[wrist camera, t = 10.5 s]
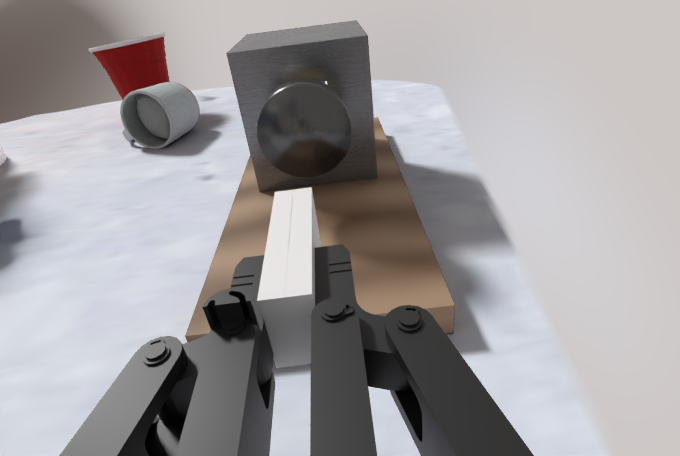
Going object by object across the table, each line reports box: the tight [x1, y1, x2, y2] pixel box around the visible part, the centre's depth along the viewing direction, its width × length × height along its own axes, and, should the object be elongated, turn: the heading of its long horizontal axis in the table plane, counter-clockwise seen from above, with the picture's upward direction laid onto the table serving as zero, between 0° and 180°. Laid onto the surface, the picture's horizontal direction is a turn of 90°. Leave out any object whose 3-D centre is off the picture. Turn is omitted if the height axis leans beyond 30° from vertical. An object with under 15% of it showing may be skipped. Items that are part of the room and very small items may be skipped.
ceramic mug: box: [120, 82, 200, 149], centre depth 56 cm, size 10×8×7 cm
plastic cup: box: [88, 33, 169, 99], centre depth 64 cm, size 11×11×12 cm
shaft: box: [257, 79, 352, 178], centre depth 34 cm, size 18×6×6 cm, turn 3°
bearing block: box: [227, 21, 378, 192], centre depth 37 cm, size 10×10×11 cm
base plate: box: [185, 118, 455, 342], centre depth 36 cm, size 32×14×2 cm, turn 3°
